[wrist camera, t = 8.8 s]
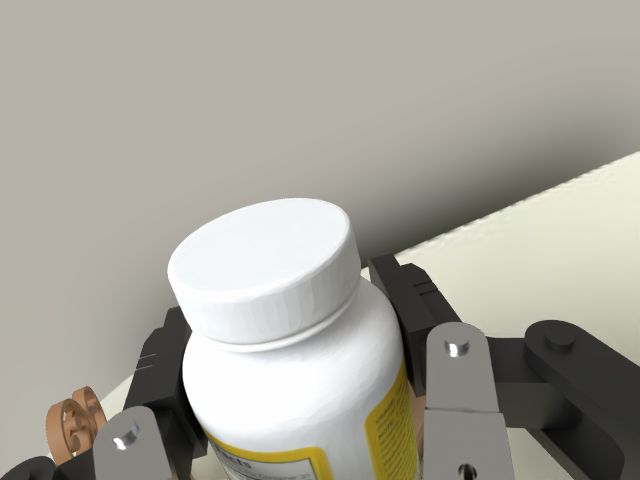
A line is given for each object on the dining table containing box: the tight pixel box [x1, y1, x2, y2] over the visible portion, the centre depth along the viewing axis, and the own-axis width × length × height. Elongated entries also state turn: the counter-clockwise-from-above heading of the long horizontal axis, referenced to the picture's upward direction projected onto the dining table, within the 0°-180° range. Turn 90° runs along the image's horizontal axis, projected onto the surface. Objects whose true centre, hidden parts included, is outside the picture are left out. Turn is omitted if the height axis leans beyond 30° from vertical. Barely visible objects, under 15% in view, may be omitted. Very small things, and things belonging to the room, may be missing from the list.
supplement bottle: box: [168, 198, 421, 480], centre depth 11 cm, size 5×5×10 cm
